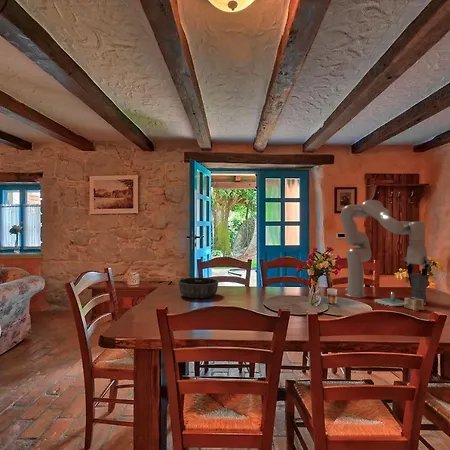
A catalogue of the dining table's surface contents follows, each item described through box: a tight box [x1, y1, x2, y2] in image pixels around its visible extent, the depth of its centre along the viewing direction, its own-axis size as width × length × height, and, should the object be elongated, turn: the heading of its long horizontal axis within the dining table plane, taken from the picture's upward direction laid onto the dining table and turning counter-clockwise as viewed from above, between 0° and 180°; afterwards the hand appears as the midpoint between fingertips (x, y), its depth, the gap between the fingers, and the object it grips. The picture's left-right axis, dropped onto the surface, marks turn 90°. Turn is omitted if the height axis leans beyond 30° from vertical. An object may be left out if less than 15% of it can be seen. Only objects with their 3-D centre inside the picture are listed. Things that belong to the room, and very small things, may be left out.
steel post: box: [390, 291, 396, 301], centre depth 198 cm, size 2×2×5 cm
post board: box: [374, 297, 405, 307], centre depth 198 cm, size 14×14×2 cm
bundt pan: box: [177, 276, 220, 299], centre depth 216 cm, size 26×26×10 cm
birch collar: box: [404, 296, 425, 310], centre depth 185 cm, size 6×6×6 cm
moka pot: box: [408, 269, 430, 304], centre depth 200 cm, size 10×15×20 cm, turn 15°
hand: (417, 274), depth 186 cm, fingers open, 9 cm apart
